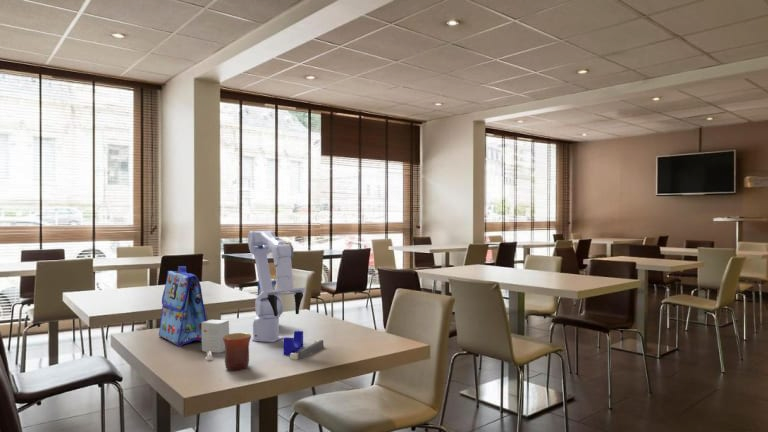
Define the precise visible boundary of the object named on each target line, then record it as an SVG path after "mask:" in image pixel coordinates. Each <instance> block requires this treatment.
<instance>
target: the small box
mask: <svg viewBox="0 0 768 432" xmlns="http://www.w3.org/2000/svg"><path fill="white" fill-rule="evenodd" d="M201 327H202V341H201V352H207V353H209V351H211V353H218V354H221V353H223V352H225V344H224V341H223V336H225V335H228V334H230V321H229V320H226V319H225V320H224V319H207V321H205V322H202V323H201Z"/></svg>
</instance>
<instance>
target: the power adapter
mask: <svg viewBox="0 0 768 432" xmlns="http://www.w3.org/2000/svg"><path fill="white" fill-rule="evenodd" d="M204 360H205V361H206V362H209V361H213V352H211V351H209V352H206V356H205V358H204Z"/></svg>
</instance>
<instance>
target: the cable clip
mask: <svg viewBox="0 0 768 432" xmlns="http://www.w3.org/2000/svg"><path fill="white" fill-rule="evenodd" d="M282 340H283V351H282V352H283V354H282V355H283V356H290V353H298V351H300V350H302V349H303V348H304V331H303V330H294V331H293V337H290V336H289V337H283V338H282Z"/></svg>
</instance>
